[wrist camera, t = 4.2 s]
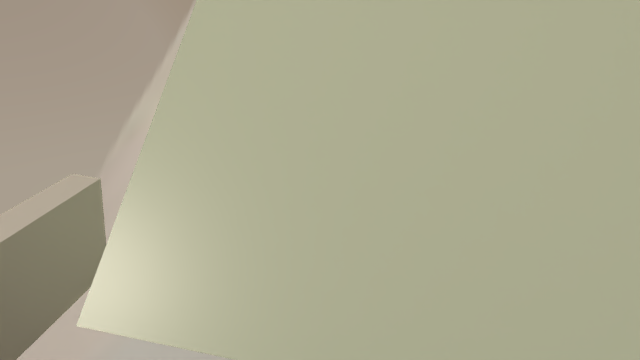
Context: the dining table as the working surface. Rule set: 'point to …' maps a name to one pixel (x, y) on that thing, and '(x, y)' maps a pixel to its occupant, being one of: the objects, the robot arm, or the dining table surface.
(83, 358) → the dining table surface
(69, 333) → the dining table surface
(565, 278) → the sage green cube
